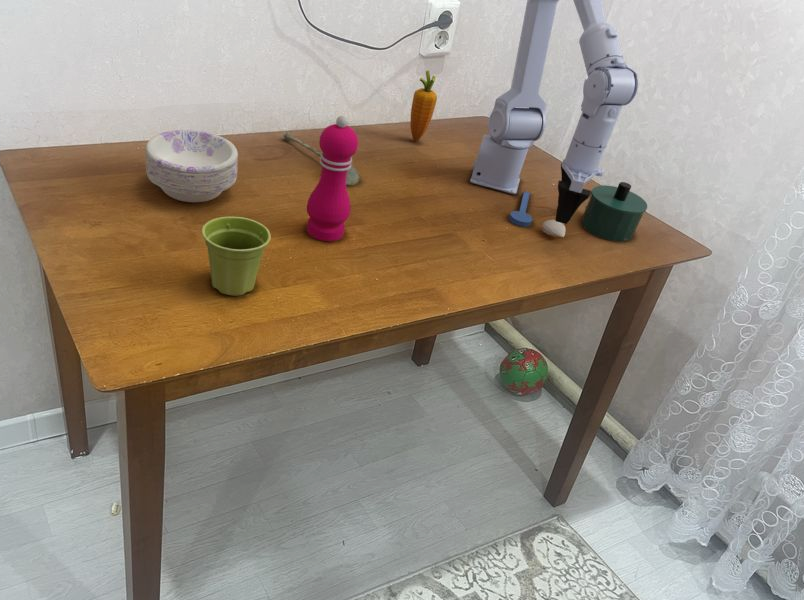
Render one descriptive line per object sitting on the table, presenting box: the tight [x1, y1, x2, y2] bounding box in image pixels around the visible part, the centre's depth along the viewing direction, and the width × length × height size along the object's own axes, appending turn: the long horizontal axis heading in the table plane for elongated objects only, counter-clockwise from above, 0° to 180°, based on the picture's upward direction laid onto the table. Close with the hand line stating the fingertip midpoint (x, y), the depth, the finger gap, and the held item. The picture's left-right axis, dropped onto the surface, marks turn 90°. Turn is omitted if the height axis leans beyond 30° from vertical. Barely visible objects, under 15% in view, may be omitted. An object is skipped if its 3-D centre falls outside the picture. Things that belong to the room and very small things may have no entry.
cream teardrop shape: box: [541, 219, 566, 238], centre depth 130 cm, size 4×5×2 cm
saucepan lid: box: [590, 181, 648, 214], centre depth 133 cm, size 10×10×4 cm
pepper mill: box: [306, 115, 359, 242], centre depth 114 cm, size 7×7×20 cm
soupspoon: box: [282, 131, 361, 186], centre depth 140 cm, size 22×3×7 cm
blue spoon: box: [508, 190, 533, 227], centre depth 138 cm, size 4×15×1 cm, turn 163°
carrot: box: [409, 70, 438, 143], centre depth 152 cm, size 5×5×15 cm
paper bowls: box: [145, 129, 239, 203], centre depth 122 cm, size 15×15×8 cm
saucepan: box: [581, 195, 644, 242], centre depth 135 cm, size 10×10×6 cm
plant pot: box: [201, 215, 272, 297], centre depth 101 cm, size 9×9×9 cm
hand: (562, 213), depth 128 cm, fingers open, 7 cm apart
